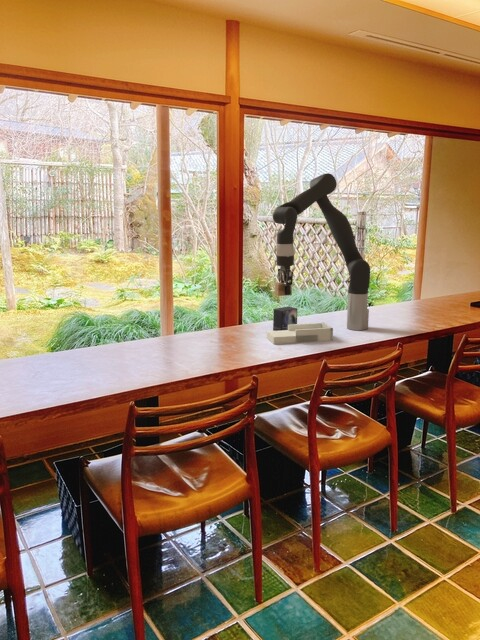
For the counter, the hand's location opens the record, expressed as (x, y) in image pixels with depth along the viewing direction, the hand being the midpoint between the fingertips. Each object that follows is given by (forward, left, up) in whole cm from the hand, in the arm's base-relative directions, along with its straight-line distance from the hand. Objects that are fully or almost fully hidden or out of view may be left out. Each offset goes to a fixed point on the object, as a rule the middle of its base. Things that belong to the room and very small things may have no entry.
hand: (285, 293), depth 233 cm
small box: (-6, -18, -21) cm, 28 cm away
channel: (-6, +1, -21) cm, 22 cm away
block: (+1, 0, 0) cm, 1 cm away
